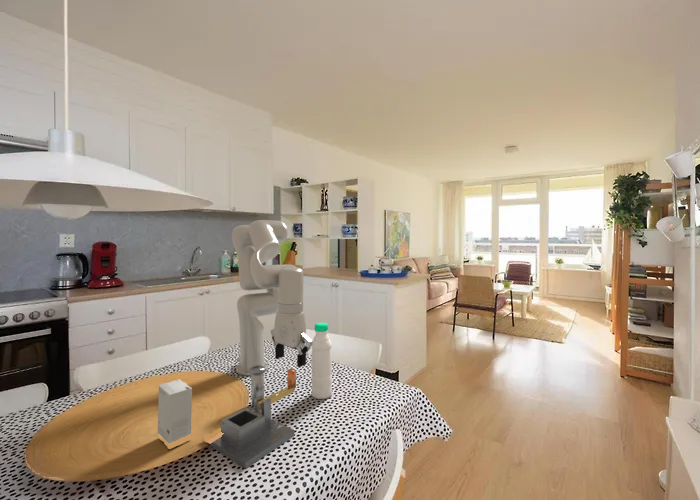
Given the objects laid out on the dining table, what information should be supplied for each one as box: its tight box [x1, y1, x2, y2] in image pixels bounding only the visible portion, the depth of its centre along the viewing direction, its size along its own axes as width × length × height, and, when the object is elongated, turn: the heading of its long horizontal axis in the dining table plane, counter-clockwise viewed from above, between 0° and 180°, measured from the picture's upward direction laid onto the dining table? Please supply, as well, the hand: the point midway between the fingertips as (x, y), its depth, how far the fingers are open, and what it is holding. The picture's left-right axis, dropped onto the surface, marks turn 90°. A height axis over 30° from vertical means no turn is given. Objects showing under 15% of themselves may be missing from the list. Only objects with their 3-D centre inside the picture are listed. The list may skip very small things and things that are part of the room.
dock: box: [209, 396, 295, 470], centre depth 87 cm, size 18×16×9 cm
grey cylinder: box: [249, 365, 266, 408], centre depth 105 cm, size 5×5×12 cm
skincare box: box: [157, 378, 193, 443], centre depth 87 cm, size 8×6×15 cm
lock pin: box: [257, 368, 297, 410], centre depth 95 cm, size 3×14×7 cm, turn 144°
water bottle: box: [310, 322, 333, 400], centre depth 111 cm, size 7×7×25 cm
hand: (290, 361), depth 101 cm, fingers open, 9 cm apart
